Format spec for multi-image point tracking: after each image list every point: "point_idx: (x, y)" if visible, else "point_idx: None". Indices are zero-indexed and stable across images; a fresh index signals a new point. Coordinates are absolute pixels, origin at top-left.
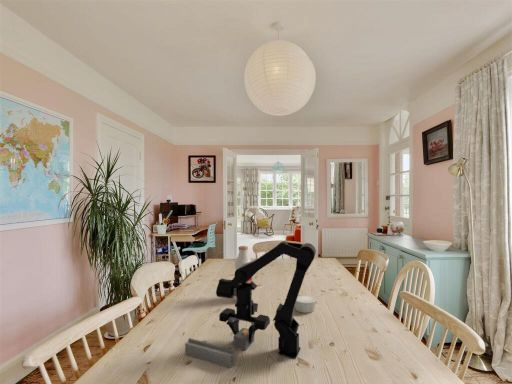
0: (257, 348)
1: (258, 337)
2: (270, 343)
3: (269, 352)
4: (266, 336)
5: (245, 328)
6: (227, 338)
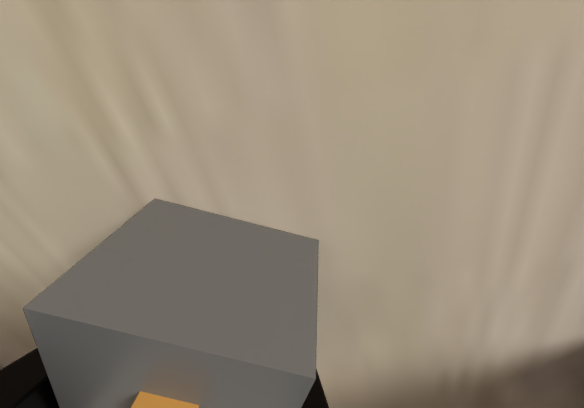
0: (374, 342)
1: (364, 148)
2: (541, 259)
3: (495, 377)
4: (512, 87)
5: (97, 329)
6: (7, 234)
